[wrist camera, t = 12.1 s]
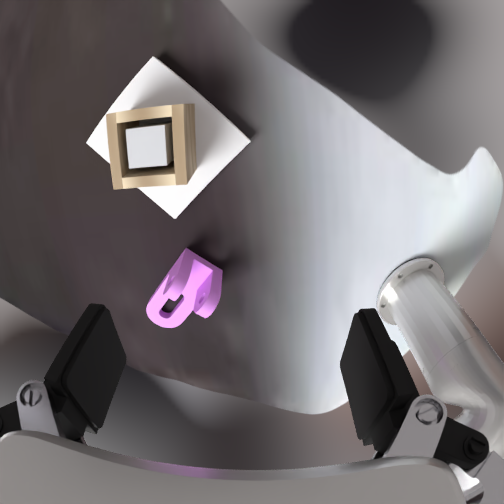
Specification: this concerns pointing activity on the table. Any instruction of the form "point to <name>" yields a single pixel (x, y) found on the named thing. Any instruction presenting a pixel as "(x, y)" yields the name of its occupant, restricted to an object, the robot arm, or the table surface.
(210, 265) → the bracket
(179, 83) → the plate
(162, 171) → the wooden collar
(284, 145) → the table surface
